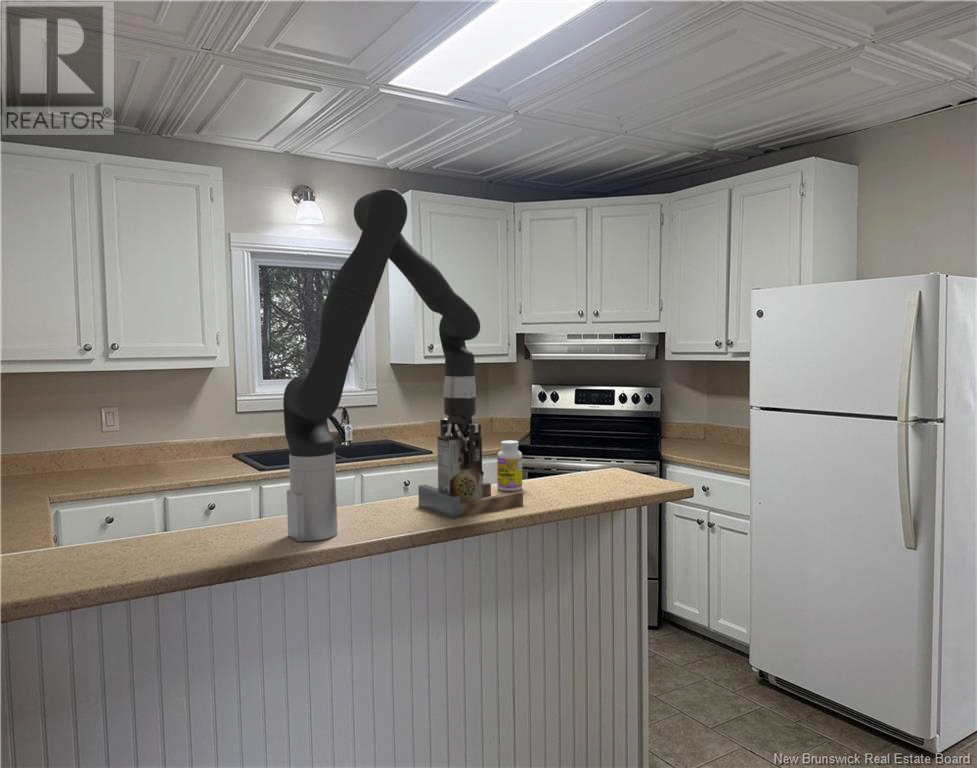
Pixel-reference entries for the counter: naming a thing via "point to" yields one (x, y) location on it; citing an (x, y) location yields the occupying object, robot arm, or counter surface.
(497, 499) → the guide rails
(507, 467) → the supplement bottle
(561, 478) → the counter surface
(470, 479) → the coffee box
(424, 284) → the robot arm
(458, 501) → the bar
